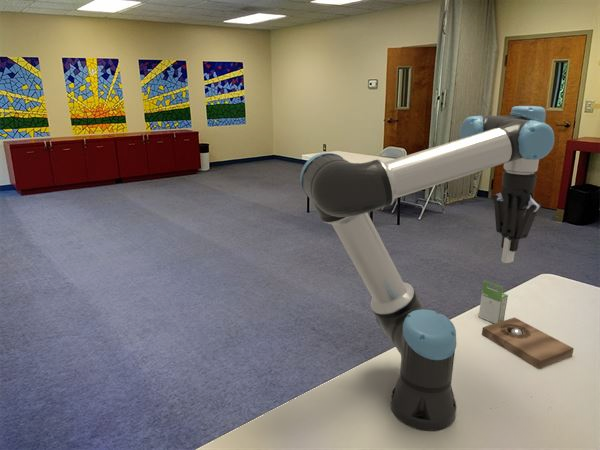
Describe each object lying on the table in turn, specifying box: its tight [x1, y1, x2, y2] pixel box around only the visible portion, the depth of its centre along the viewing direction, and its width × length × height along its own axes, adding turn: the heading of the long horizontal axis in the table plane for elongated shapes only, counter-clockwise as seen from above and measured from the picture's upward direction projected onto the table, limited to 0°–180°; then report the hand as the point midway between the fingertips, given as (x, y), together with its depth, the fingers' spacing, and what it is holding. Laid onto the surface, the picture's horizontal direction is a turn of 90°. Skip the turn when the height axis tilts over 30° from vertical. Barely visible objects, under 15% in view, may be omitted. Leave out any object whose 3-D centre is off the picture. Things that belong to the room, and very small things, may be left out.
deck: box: [481, 317, 574, 370], centre depth 137 cm, size 20×14×2 cm
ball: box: [510, 328, 522, 335], centre depth 140 cm, size 3×3×3 cm
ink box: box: [478, 280, 509, 324], centre depth 150 cm, size 7×4×13 cm, turn 37°
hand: (507, 261), depth 120 cm, fingers closed
